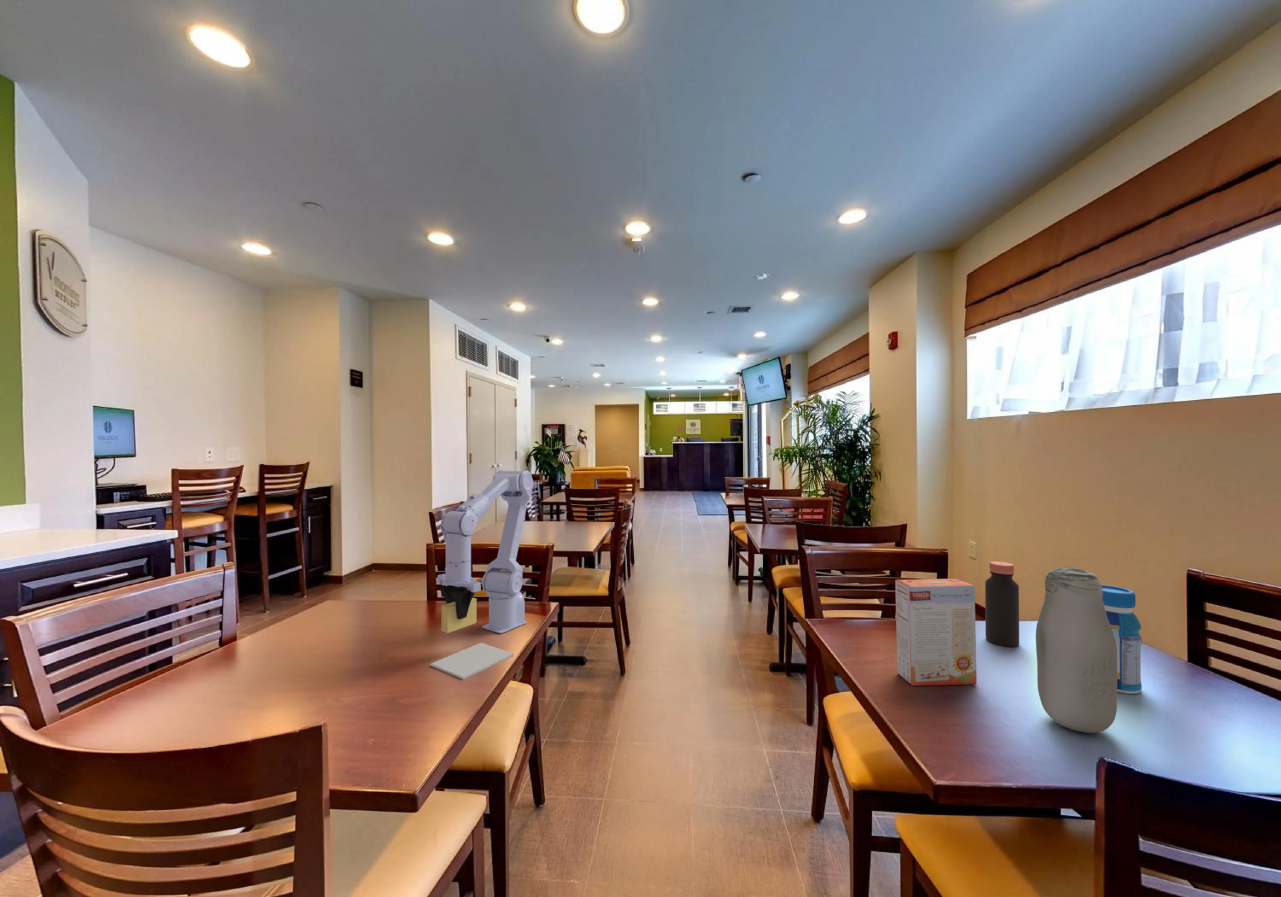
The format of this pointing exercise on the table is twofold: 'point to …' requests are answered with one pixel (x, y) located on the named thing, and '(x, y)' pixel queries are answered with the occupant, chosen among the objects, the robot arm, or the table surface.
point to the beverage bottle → (1124, 636)
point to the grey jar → (1076, 652)
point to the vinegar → (1002, 605)
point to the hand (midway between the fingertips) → (458, 616)
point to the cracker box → (936, 631)
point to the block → (451, 620)
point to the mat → (471, 660)
